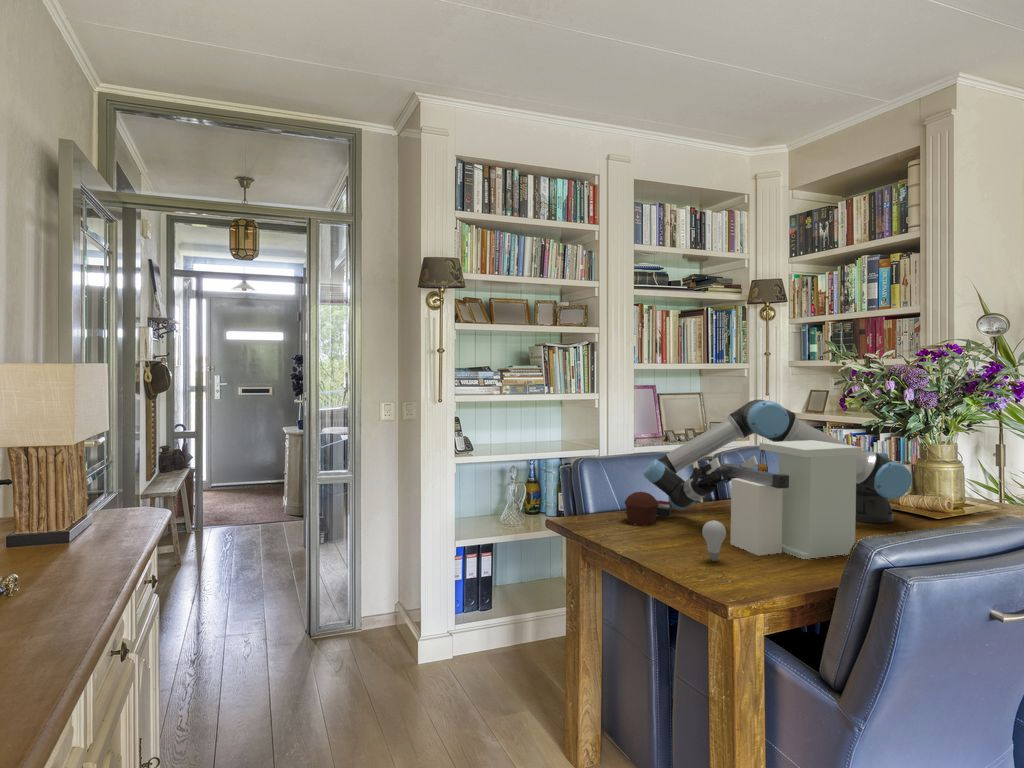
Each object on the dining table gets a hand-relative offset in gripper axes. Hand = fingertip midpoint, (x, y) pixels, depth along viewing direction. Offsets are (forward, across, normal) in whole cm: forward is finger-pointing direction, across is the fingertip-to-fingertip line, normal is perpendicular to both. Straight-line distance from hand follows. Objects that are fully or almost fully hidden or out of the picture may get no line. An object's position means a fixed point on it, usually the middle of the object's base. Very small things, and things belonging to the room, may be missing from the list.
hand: (737, 460), depth 191 cm
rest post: (-5, 0, -25) cm, 26 cm away
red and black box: (-49, +5, 0) cm, 49 cm away
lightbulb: (+1, +19, -29) cm, 34 cm away
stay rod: (+3, 0, -7) cm, 8 cm away
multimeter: (-56, -56, +4) cm, 79 cm away
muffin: (-38, +16, -6) cm, 41 cm away
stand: (-1, -15, -27) cm, 31 cm away
